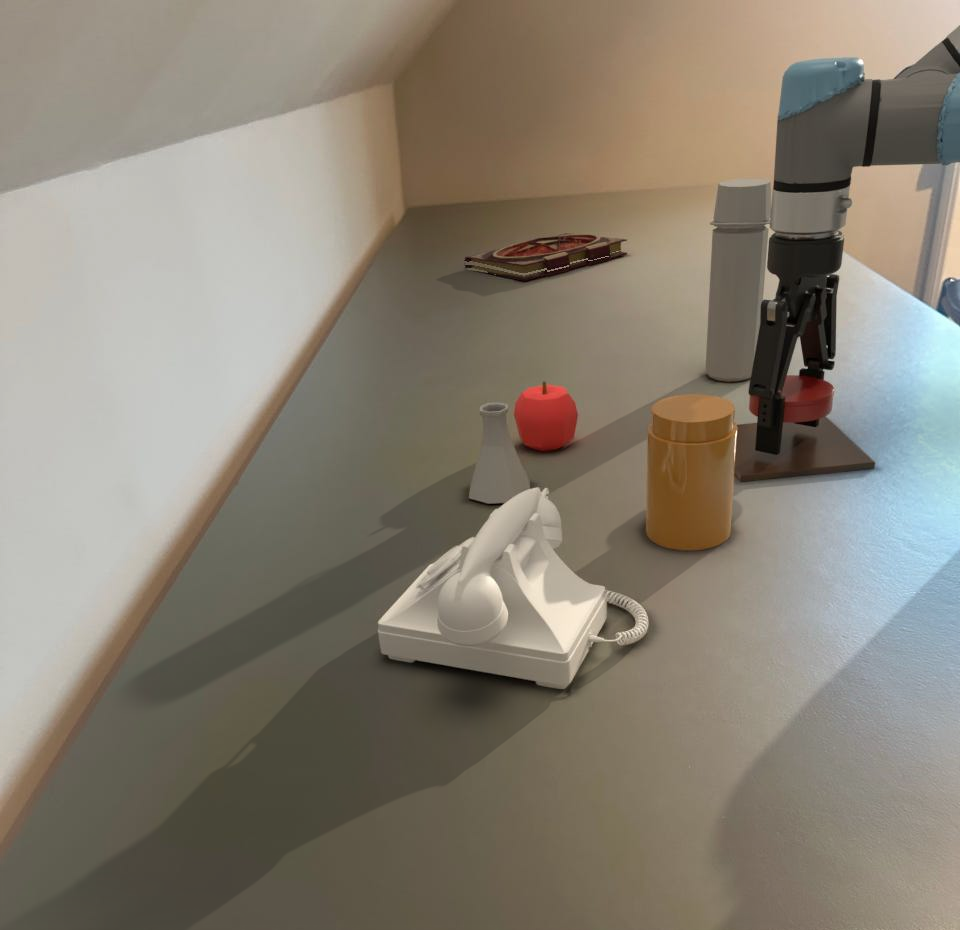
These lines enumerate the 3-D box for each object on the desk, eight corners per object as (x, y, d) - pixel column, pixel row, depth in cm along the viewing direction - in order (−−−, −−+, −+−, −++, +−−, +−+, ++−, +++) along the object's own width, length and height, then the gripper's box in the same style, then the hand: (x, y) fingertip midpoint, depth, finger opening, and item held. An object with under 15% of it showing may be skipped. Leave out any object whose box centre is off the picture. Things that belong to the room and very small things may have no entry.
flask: (520, 508, 106) (514, 420, 100) (458, 503, 108) (450, 417, 103) (539, 481, 112) (535, 397, 106) (481, 477, 114) (474, 394, 109)
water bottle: (756, 384, 133) (773, 186, 120) (698, 382, 136) (708, 188, 122) (763, 364, 141) (778, 174, 127) (707, 362, 143) (717, 176, 130)
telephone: (473, 548, 99) (463, 431, 92) (676, 574, 91) (681, 448, 84) (355, 686, 80) (331, 552, 73) (599, 733, 72) (597, 587, 65)
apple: (538, 462, 116) (535, 397, 112) (502, 443, 122) (498, 381, 118) (591, 445, 120) (591, 381, 115) (554, 428, 126) (552, 366, 121)
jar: (717, 509, 102) (725, 389, 95) (740, 546, 95) (750, 418, 88) (638, 517, 102) (639, 397, 95) (655, 554, 95) (658, 427, 88)
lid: (733, 414, 111) (734, 393, 110) (771, 390, 117) (772, 370, 115) (809, 428, 106) (811, 406, 104) (845, 402, 111) (848, 382, 110)
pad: (824, 421, 120) (825, 415, 120) (874, 468, 108) (875, 462, 107) (705, 433, 120) (705, 427, 120) (740, 482, 107) (741, 475, 107)
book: (565, 248, 222) (564, 224, 219) (630, 256, 207) (629, 231, 204) (465, 272, 209) (463, 247, 206) (527, 283, 194) (525, 256, 191)
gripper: (792, 256, 92) (773, 476, 104) (885, 213, 105) (858, 414, 117) (721, 250, 96) (710, 463, 109) (819, 210, 110) (799, 404, 122)
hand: (787, 437), depth 113 cm, fingers closed on lid, 9 cm apart
